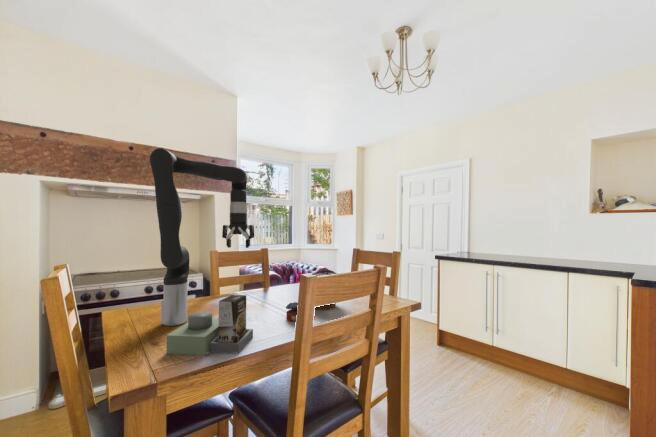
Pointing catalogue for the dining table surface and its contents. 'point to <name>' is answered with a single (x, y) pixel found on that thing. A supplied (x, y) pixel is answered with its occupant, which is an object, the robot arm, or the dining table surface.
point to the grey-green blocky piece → (202, 337)
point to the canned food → (292, 311)
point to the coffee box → (232, 318)
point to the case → (325, 272)
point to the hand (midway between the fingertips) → (238, 247)
